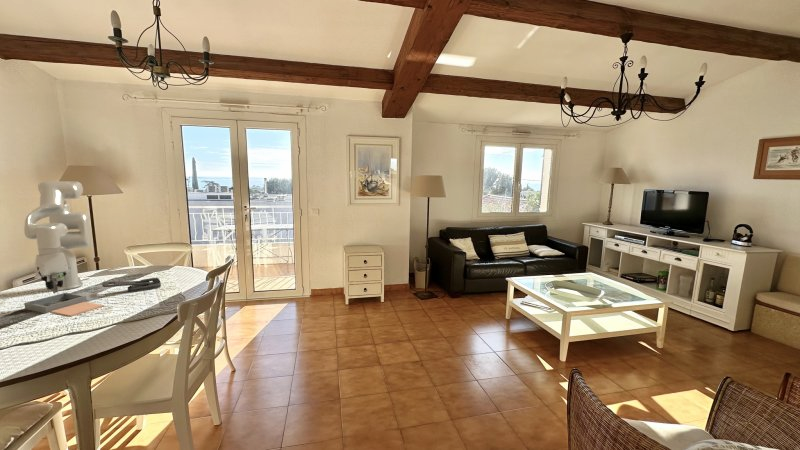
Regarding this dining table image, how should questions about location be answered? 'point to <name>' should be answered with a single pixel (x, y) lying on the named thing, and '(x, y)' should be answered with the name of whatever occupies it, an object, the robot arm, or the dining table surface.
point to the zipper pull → (137, 284)
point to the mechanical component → (56, 280)
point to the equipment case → (74, 299)
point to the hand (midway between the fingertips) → (54, 287)
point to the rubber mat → (77, 309)
